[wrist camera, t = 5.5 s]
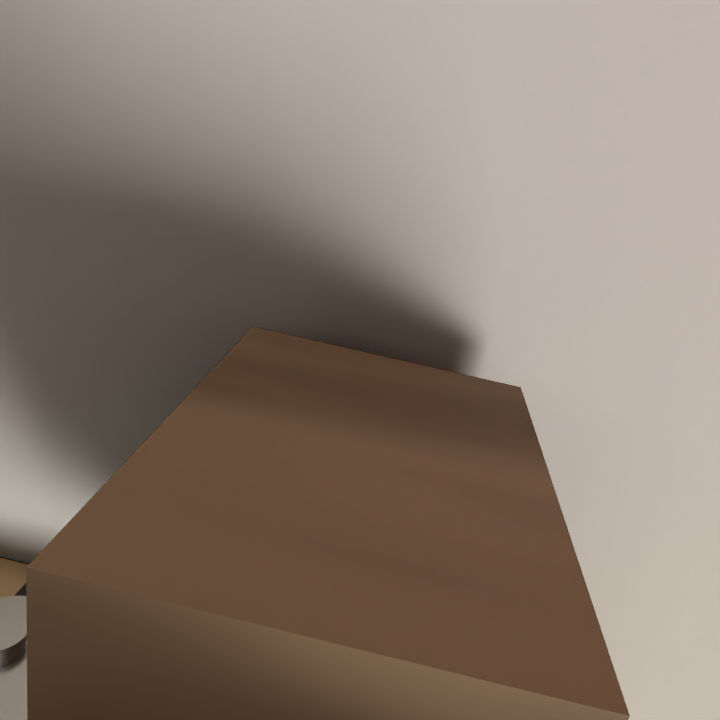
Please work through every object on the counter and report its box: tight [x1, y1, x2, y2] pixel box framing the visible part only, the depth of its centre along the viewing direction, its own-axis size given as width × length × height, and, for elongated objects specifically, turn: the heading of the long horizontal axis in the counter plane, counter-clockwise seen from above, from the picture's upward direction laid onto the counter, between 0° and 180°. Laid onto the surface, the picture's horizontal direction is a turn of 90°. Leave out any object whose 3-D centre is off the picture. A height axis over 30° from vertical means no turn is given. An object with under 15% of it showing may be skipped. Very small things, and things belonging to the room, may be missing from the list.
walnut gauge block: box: [26, 327, 629, 720], centre depth 8 cm, size 6×4×6 cm
